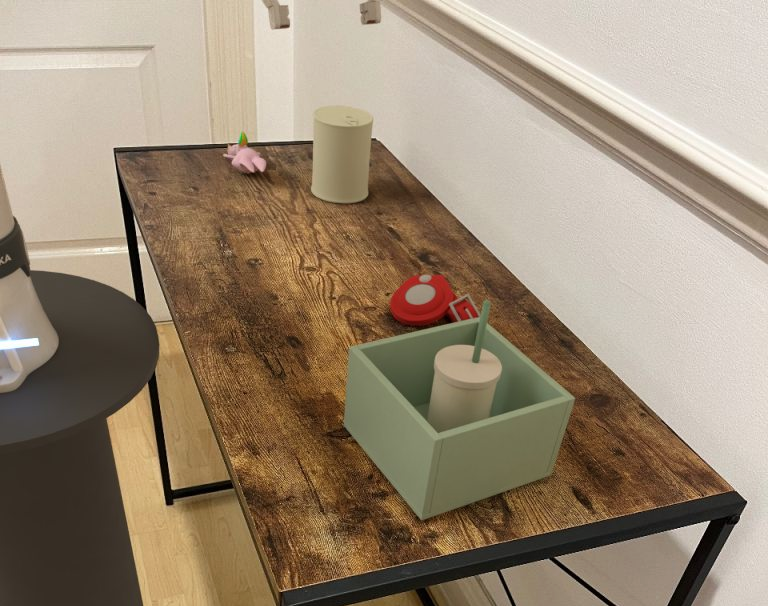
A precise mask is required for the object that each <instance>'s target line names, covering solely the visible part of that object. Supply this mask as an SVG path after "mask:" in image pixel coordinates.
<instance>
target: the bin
mask: <svg viewBox="0 0 768 606" xmlns="http://www.w3.org/2000/svg"><path fill="white" fill-rule="evenodd" d="M479 321H480V317H477V318H472V319H468V320H464V321H459V322H455V323H452V322H451V323H447V324H442V325H438V326H434V327H430V328H429V327H428V328H425V329H420V330H416V331H412V332H408V333H404V334H399V335H394V336H390V337H385V338H381V339H377V340H373V341H368V342H364V343H360V344H355V345H351V346H348V356H347V357H348V358H347V372H346V384H345V385H346V388H345V389H346V390H345V401H344V415H343V427H344V428H345V429H346V430H347V431H348V433H349V434H350V436H351V437H352V438H353V440H355V441H356V442H357V444H358V445H359V446H360V448H361V449H362V450H363V451H364V453H366V455H367V456H368V457H369V458H370V460H371V461H372V462H373V463H374V465H376V467H377V468H378V469H379V471H380V472H381V473H382V474H383V476H384V477H385V478H386V479H387V480H388V482H389V483H390V484H391V485H392V486H393V488H394V489H395V490H396V491H397V493H398V494H399V495H400V496H401V497H402V499H403V500H404V501H405V502H406V503H407V505H408V506H409V508H410V509H411V510H412V511H413V512H414V514H415V515H416V516H417V517H418V518H419V520H420V521H424V520H428V519H431V518H433V517H435V516H439V515H441V514H444V513H447V512H450V511H453V510H456V509H459V508H462V507H465V506H467V505H470V504H473V503H476V502H479V501H481V500H484V499H487V498H490V497H494V496H496V495H499V494H501V493H505V492H507V491H510V490H513V489H516V488H519V487H521V486H525V485H528V484H530V483H533V482H536V481H539V480H542V479H545V478H548V477H550V476H552V474H553V470H554V467H555V464H556V461H557V458H558V455H559V452H560V451H559V450H560V448H561V445H562V442H563V438H564V436H565V434H566V433H565V432H566V429H567V427H568V423H569V420H570V417H571V414H572V410H573V407H574V405H575V401H576V397H575V396H574V395H572V393H570V392H569V391H568V390H567V389H565V388H564V387H563V386H562V385H560V383H558V382H557V381H556V380H555V379H554V378H552V377H551V376H550V375H549V374H548V373H546V372H545V370H543V369H542V368H541V367H539V366H538V364H536V362H534V361H533V360H532V359H530V358H529V357H528V356H526V354H525V353H523V352H522V351H521V350H519V348H517V347H516V346H515V345H514V344H513V343H511V342H510V341H509V340H508V339H507V338H505V336H503V335H502V334H501V333H500V332H498V331H497V330H496V329H495V328H494V327H493V326H492V325H490V324H489V323H488V322H487V326H486V330H485V335H484V340H483V345H482V349H485V350H487V351H489V352H491V353H492V354H494V355H495V356H496V357H497V358H498V359H499V361H500V362H501V365H502V372H501V376H500V379H499V380H498V382H497V384H496V388H495V393H494V397H493V401H492V406H491V410H490V414H489V418H488V419H484V420H481V421H478V422H474V423H471V424H467V425H464V426H461V427H457V428H454V429H451V430H447V431H444V432H441V433H439V434H438V433H437V432H436V431H435V429H434V428H433V427H432V426H431V425H430V424H429V423H428V422H427V417H428V411H429V405H430V399H431V393H432V386H433V380H434V374H435V370H434V361H435V356H436V354H437V353H438V352H439V351H440V350H441V349H443V348H445V347H448V346H453V345H471V346H475V342H476V337H477V331H478V326H479Z"/></svg>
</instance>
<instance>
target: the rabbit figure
mask: <svg viewBox="0 0 768 606" xmlns="http://www.w3.org/2000/svg"><path fill="white" fill-rule="evenodd" d="M237 141H238V142H237V143H236V144H233V145H231V144H229V143H227V149H226V153H223V154H222V157H223V158H227V159H229V160H231V165H232V167H233V168H235V169H236V170H237V171H241V172H242V173H243V174H247V175H250V174H252V173H256V172H257V171H260V172H261V173H264V172H265V171H266V167H267V161H266V159H264V158H262V157H261V152H259V151H258V152H257V151H256V150H254V149H253V148H249V147H248V145H247V144H248V143H249V139H248V137H247V135H246V133H245V132H244V131H240V135H239V138H238V140H237Z"/></svg>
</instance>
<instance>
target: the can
mask: <svg viewBox="0 0 768 606" xmlns="http://www.w3.org/2000/svg"><path fill="white" fill-rule="evenodd" d="M312 117H313V118H312V119H313V127H312V128H313V131H312V132H313V136H312V137H313V138H312V139H313V140H312V176H311V177H312V178H311V186H310V191H311V194H312V195H314V197H316V198H318V199H320V200H322V201H325V202H328V203H334V204H344V205H345V204H356V203H359V202H362V201H364V200H366V199H367V197H369V175H370V160H371V159H370V158H371V148H372V147H371V145H372V137H373V136H372V134H373V126H374V125H373V124H374V116H373V114H371V113H370V112H368V111H366V110H364V109H361V108H359V107H354V106H348V105H325V106H322V107H318V108H316V109H315V110H314V111H313V113H312Z"/></svg>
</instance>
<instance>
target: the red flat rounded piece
mask: <svg viewBox="0 0 768 606" xmlns="http://www.w3.org/2000/svg"><path fill="white" fill-rule="evenodd" d="M389 309H390V313H391V315H392V317H393V318H394V319H395V320H396V321H398V322H399V323H401V324H403V325H406V326H414V327H416V326H417V327H418V326H419V327H420V326H427V325H430V324H433V323H435V322H437V321H439V320H441V319H443V318H444V317H445V316H446V317H447V318H448V319H449V321H450V322H451V323H455V322H459V321H464V320H468V319H472V318H477V317H480V316H481V312H479V309H478V308H477V306H476V304H475V303H474V300H473V299H472V297H471V295H470V294H468V293H466V294H465V295H463V296H461V297H458V296H457V295H456V294H455V293H454V291H453V289H452V287H451V286H450V283H449V282H448V281H447V279H446V278H445V276H444V275H443V274H418V275H417V274H416V275H411V276H410V277H409V278H407V279H406V280H405V281H404V282H403V283H402V284H401V285H400V286H399V287H398V288H397V289H396V290H395V291H394V293H393V294H392V296H391V298H390V301H389Z"/></svg>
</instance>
